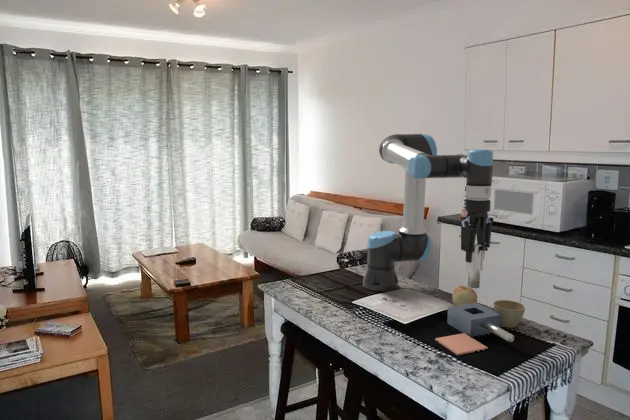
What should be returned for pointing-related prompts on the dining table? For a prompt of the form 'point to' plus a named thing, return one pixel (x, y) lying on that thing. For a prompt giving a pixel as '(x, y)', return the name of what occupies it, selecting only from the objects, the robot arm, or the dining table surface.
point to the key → (476, 267)
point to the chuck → (476, 321)
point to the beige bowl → (509, 312)
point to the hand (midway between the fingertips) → (474, 270)
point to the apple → (464, 296)
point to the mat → (461, 344)
